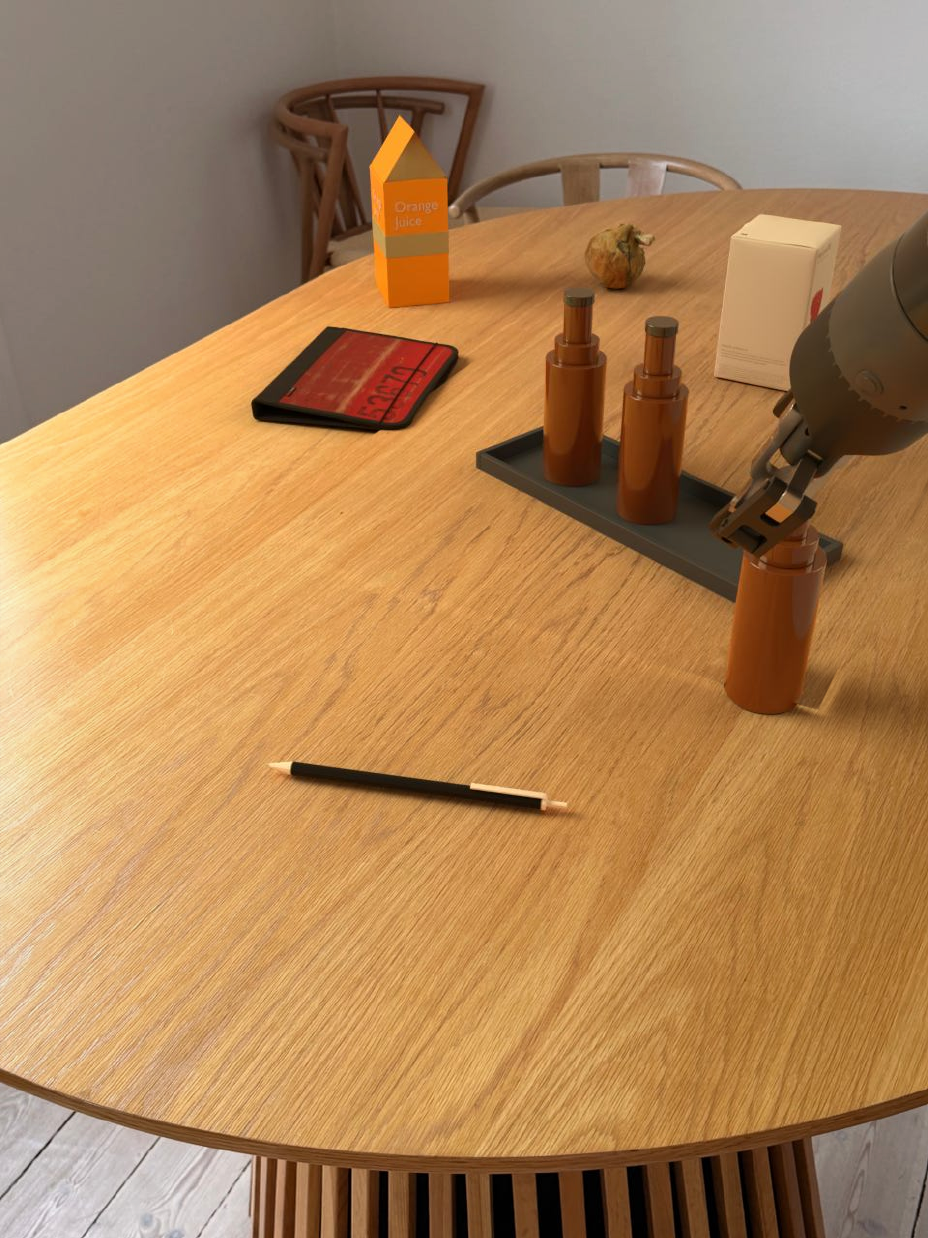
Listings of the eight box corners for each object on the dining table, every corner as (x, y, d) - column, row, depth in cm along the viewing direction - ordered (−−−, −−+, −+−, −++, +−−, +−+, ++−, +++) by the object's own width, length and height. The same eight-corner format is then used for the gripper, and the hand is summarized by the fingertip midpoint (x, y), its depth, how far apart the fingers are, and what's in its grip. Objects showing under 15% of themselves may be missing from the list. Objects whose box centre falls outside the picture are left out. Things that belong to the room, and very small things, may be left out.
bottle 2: (685, 503, 104) (705, 316, 94) (664, 530, 100) (682, 338, 91) (629, 490, 106) (642, 305, 97) (605, 516, 102) (617, 326, 93)
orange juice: (387, 307, 146) (379, 132, 134) (374, 284, 153) (365, 115, 141) (451, 302, 147) (448, 127, 136) (435, 278, 154) (431, 111, 143)
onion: (632, 272, 156) (636, 208, 151) (653, 292, 149) (658, 227, 145) (575, 276, 154) (578, 212, 150) (594, 297, 148) (597, 231, 143)
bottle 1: (609, 467, 110) (621, 287, 100) (586, 492, 106) (595, 307, 96) (557, 455, 112) (563, 277, 102) (532, 479, 108) (536, 296, 98)
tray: (839, 565, 96) (843, 542, 95) (750, 618, 90) (753, 594, 89) (564, 436, 116) (564, 416, 115) (475, 472, 110) (475, 452, 109)
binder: (249, 398, 118) (325, 323, 135) (251, 420, 120) (326, 343, 136) (406, 421, 115) (464, 341, 132) (406, 443, 117) (463, 362, 133)
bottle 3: (810, 681, 84) (851, 466, 75) (789, 723, 80) (829, 502, 71) (737, 660, 86) (768, 448, 77) (713, 700, 82) (742, 483, 73)
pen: (565, 816, 73) (566, 802, 72) (264, 774, 76) (262, 761, 76) (567, 806, 74) (568, 792, 73) (269, 765, 77) (267, 752, 76)
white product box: (795, 395, 124) (818, 248, 115) (711, 378, 127) (728, 234, 119) (821, 364, 130) (844, 223, 122) (740, 349, 134) (758, 211, 125)
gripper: (920, 511, 52) (759, 610, 67) (1037, 270, 56) (861, 415, 71) (772, 416, 51) (645, 537, 67) (902, 182, 56) (755, 346, 71)
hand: (757, 474), depth 69 cm, fingers open, 8 cm apart
